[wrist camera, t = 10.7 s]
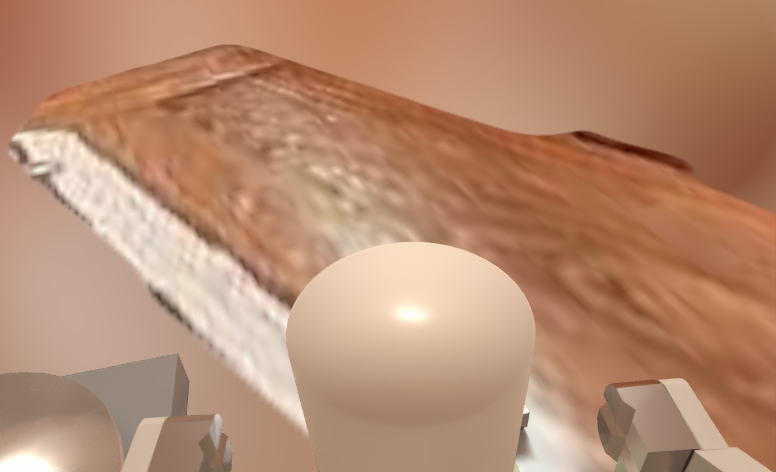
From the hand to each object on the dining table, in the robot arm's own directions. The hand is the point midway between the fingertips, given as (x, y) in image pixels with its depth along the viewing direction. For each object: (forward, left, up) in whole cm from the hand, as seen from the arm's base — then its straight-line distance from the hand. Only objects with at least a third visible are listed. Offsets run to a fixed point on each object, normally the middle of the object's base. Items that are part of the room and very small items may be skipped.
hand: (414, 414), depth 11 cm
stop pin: (0, -1, -10) cm, 10 cm away
